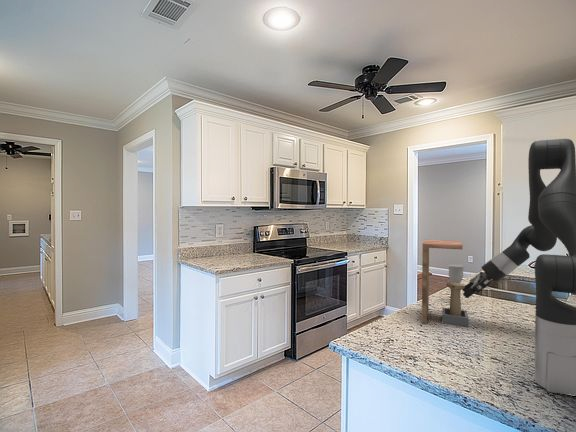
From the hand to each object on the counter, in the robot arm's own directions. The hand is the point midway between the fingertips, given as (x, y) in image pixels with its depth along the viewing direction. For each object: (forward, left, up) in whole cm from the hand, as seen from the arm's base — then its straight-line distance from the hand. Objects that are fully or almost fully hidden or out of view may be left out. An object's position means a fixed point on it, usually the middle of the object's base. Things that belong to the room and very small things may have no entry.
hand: (464, 293), depth 122 cm
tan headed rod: (0, +3, -12) cm, 12 cm away
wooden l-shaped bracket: (0, +8, -12) cm, 14 cm away
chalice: (+27, +2, -12) cm, 30 cm away
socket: (0, +3, -12) cm, 12 cm away
